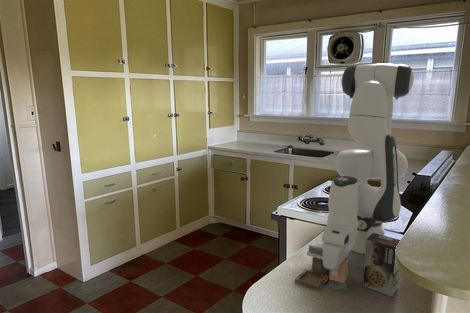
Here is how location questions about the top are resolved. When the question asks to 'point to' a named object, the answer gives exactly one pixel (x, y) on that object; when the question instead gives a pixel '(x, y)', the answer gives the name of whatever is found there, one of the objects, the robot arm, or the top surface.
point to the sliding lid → (316, 250)
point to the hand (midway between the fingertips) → (338, 270)
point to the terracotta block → (340, 272)
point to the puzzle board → (313, 274)
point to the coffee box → (381, 264)
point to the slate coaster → (337, 285)
